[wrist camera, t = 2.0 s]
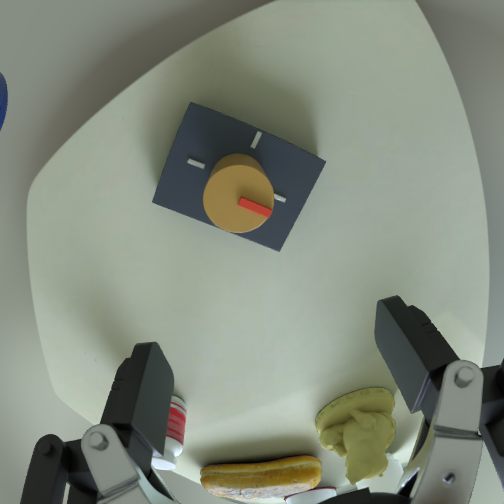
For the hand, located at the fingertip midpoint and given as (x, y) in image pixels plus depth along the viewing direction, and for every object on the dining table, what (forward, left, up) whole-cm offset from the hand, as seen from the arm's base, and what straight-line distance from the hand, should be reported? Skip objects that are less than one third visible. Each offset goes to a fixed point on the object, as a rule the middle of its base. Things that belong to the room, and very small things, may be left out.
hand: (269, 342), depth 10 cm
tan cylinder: (-2, +2, -16) cm, 16 cm away
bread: (+26, -52, -19) cm, 61 cm away
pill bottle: (+1, -33, -19) cm, 38 cm away
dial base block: (-2, +2, -18) cm, 19 cm away
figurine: (+32, -26, -19) cm, 46 cm away
